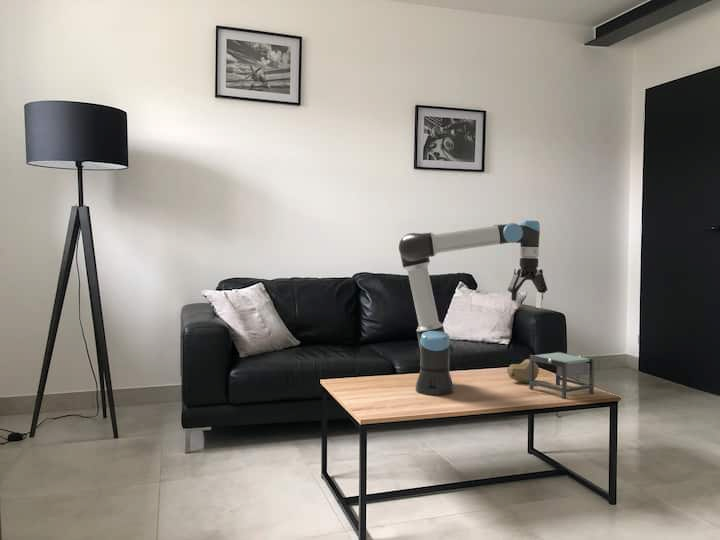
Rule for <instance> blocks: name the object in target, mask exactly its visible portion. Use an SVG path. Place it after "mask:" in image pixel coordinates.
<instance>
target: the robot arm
mask: <svg viewBox="0 0 720 540" xmlns="http://www.w3.org/2000/svg"><path fill="white" fill-rule="evenodd" d="M540 225H541V224H540V222H539V221H538V220H522V221H521V223H520V224H517V223H514V222H510V223H505V224H504V223H503V224H501V223H500V224H494V225H491V226H483V227H479V228H478V227H477V228H471V229H464V230H456V231H450V232H443V233H435V234H434V233H433V232H424V233H417V232H410V233H407V234H404V235H403V237H401V239H400V241H399V244H398V251H399V254H400V258H401V264H402V268H404V270H406V271H407V276H408V280H409V284H410V285H409V286H410V289H411V294H412V298H413V304H414V308H415V313H416V319H417V322H418V326H417V329H416V330H415V331H416V335H417V339H418V347H419V350H420V365H419V367H420V368H419V369H420V370H419V374H418V377H417V380H416V383H415V391H416V392H418V393H420V394H423V395H431V396H445V395H450V394H453V393H454V384H453V381H452V376H451V374H450V350H451V349H450V348H451V347H450V345H451V339H450V335H449V334H448V333H447V332H445V331H446V330H445V328H444V327H445V326H444V324H443V323H442V322H441V321H439V316H438V311H437V306H436V302H435V297H434V294H433V293H434V292H433V287H432V283H431V278H430V272H429V268H428V266H429V264H430V263H431V262H430V260H431V259H430V257H436V256H437V254H442V253H449V252H455V251H461V250H462V251H463V250H469V249H475V248H483V247H489V246H496V245H503V244H520V246H519V247H520V249H519V256H520V258H519V267H520V268H514V270H513V276H512V277H511V280H510V283H509V285H508V287H507V291H508V292H509V293H511V298H510V299H511V301H512V302H511V303H512V304H511V309H513V310H519V297H520V295H519V292H518V291H519V290H520V288H521V287H522V285H523V284H524V283H525V282H526V281H532V283H533V285H534V286H535V288H536V290H537V292H535V293H536V298H535V308H537V309H542V308H543V300H544V294H545V293H546V292H547V291H548V287H547V284H546V281H545V280H546V279H545V277H544V275H543V274H544V271H543V269H541V268H540V269H539V268H538V267H539V255H540V234H541V231H540V230H541V229H540V227H541V226H540Z"/></svg>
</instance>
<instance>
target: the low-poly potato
mask: <svg viewBox="0 0 720 540" xmlns="http://www.w3.org/2000/svg"><path fill="white" fill-rule="evenodd" d="M506 371H507V375H508V377H509V378H510V379H512V380H514V381H517V382H519V383H521V384H529V372H530V358H528V359H527V358H525V359H524V360H523V361H522V362H521V363H511V364H510V365H509V366H508V367H507V369H506ZM539 373H540V369H539V365H538V364H537V362H536V361H534V381H536V379H537V378H538V375H539Z"/></svg>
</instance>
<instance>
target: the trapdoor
mask: <svg viewBox="0 0 720 540" xmlns="http://www.w3.org/2000/svg"><path fill="white" fill-rule="evenodd" d="M563 353H564V352H562V353H557V352H551V353H541V354H535V355H534V354H533V355H534V356H539V357H544V358H548V359H553V360H558V361H562V362H567V377H572V376H578V375H585V374H588V373H587V371H588V370H587V369H588V363H587V362H588V361H590V359H588V358H589V357H587V358H583V357H584V356H582V357H578V356H579V355H577V356H573V355H574V354H572V355H568V354H569V353H567V354H563ZM557 375H559V376H560V377H562V367H558V366H557Z"/></svg>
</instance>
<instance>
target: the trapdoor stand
mask: <svg viewBox="0 0 720 540" xmlns="http://www.w3.org/2000/svg"><path fill="white" fill-rule="evenodd" d="M556 353H563V354H568V355H573V356H578V357H583V358H588V359H590V361H588V362H587V364H589V372H588V373H589V377H588V379H589V380H588V382H583V381H580V380H576V379H571V378H568V376H567V362H562V361H558V360H553V359H548V358H544V357H539V356H534V354H529V360H530V372H529V383H528V385H529V386H528V387H529V388H528V389H529V390H534V388H535V387H534V386H539V387H541V388H546V389H549V390H553V391H557V392H561V399H562V400H563V399H564V400H565V399H567V393H571V392H576V391H582V390H588V393H595V392H594V389H595V386H594V385H595V358H591V357H587V356H582V354H580V355H576V354H573V353H572V354H571V353H566V352H561V351H556ZM534 361H535V362H536V363H542V364H546V365H550V366H555V367H556V368H555V385H556V386H555V385H551V384H549V383H548V384H547V383H544V382H540V381H536V380H534ZM557 366H558V367H562V376H559V375H557ZM567 383H570V384H573V385H578V386H571V387H567V386H568V385H567ZM560 385H561V387H559V386H560Z"/></svg>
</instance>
